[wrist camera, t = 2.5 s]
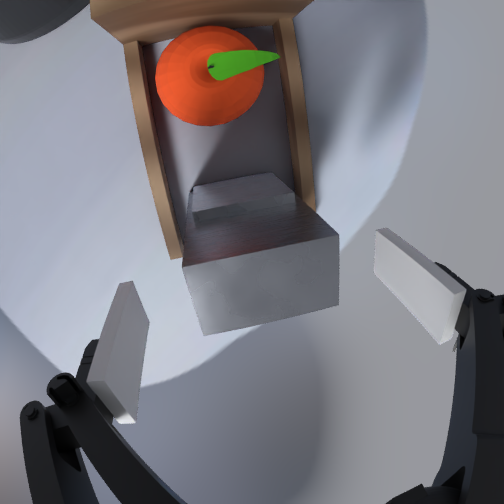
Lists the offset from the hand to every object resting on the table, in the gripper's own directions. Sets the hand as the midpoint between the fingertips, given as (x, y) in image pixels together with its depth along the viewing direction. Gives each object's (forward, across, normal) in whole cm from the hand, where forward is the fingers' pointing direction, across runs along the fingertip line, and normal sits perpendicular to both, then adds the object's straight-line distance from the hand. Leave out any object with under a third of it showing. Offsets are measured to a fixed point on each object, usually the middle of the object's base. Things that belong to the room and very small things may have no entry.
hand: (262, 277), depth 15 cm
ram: (+10, 0, 0) cm, 11 cm away
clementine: (+11, 0, +11) cm, 15 cm away
